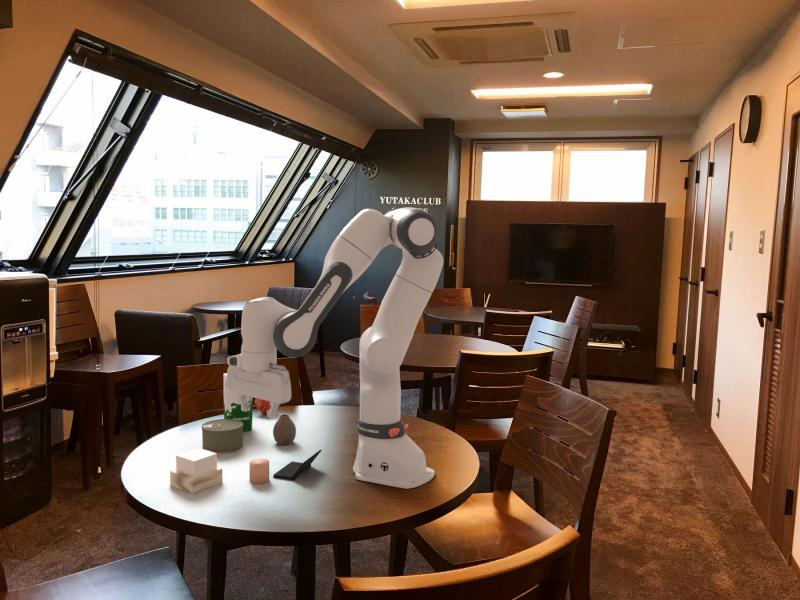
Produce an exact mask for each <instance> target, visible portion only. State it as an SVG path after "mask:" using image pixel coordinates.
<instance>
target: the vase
mask: <svg viewBox="0 0 800 600" xmlns="http://www.w3.org/2000/svg"><path fill="white" fill-rule="evenodd" d="M296 435H297V427H296V425H295V423H294V421H293V420H292V418H291V417H290V415H289V414H286V413H285V414H284V413H282V414H281V415H280V416H279V418H278V419H277V421H276V422H275V423H274V425H273V429H272V436H273V440H274V441H275V442H276V444H277V445H280V446H289V445H291V444H292V443H293V442H294V441H295V439H296Z"/></svg>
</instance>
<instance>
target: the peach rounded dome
mask: <svg viewBox="0 0 800 600" xmlns="http://www.w3.org/2000/svg"><path fill="white" fill-rule="evenodd" d="M249 483H250V484H252V485H263V484H267V483H270V459H267V458H254V459H251V460H250V461H249Z"/></svg>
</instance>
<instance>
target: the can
mask: <svg viewBox="0 0 800 600" xmlns="http://www.w3.org/2000/svg"><path fill="white" fill-rule="evenodd" d="M201 431H202V432H201V433H202V442H201V443H202V449H204V450H207V451H210V452H214V453H217V454H229V453H233V452H236V451H239V450H242V449H243V447H244V444H243V440H244V438H243V437H244V435H243V434H244V431H243V422H241V421H239V420H234V419H224V418H221V419H212V420H209V421H206V422H204V423H202V425H201Z"/></svg>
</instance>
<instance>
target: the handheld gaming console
mask: <svg viewBox="0 0 800 600" xmlns="http://www.w3.org/2000/svg"><path fill="white" fill-rule="evenodd" d="M321 452H322V449H319V450H318V451H317V452H315V453H314V454H312V455H311V456H310V457H308V458H307V459H306V460H304V462H298V461H291V462H289V463H288V464H286V465H284V467H282V468H280V469H279V470H278V471H276V472H275V473H273V475H272V477H273V479H279V480H286V481H287V480H288V481H295V480H296V479H297V478H298V477H300V476H301V475H302V474H303V473H305V471H307V470H308V469H310V468H311V467H312V463H313V462H314V461H315V460H316V459H317V457H318V455H319V454H321ZM319 456H320V455H319Z"/></svg>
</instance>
